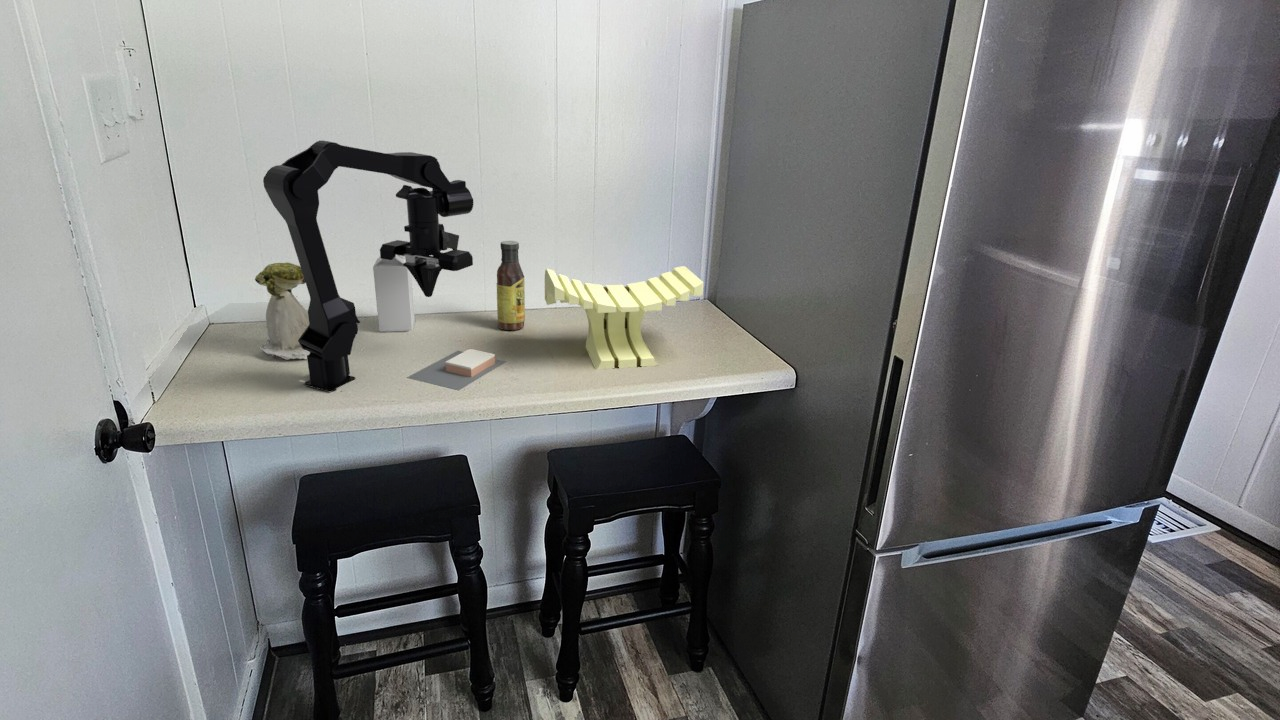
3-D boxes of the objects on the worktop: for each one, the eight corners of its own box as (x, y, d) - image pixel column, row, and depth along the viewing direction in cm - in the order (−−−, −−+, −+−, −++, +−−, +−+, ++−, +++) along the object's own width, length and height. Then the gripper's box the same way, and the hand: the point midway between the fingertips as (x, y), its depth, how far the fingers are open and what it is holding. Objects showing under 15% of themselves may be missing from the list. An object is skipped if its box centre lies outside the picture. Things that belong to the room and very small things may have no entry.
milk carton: (379, 332, 158) (370, 248, 151) (383, 322, 165) (375, 241, 157) (412, 331, 160) (405, 248, 152) (415, 321, 166) (409, 241, 159)
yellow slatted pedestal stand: (675, 337, 164) (680, 262, 157) (697, 364, 150) (703, 282, 143) (544, 343, 157) (544, 264, 150) (554, 372, 143) (554, 286, 136)
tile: (445, 371, 139) (471, 377, 137) (445, 361, 139) (471, 367, 137) (470, 357, 146) (495, 363, 144) (469, 348, 146) (494, 354, 143)
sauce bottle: (522, 332, 163) (521, 246, 155) (495, 331, 163) (492, 245, 155) (527, 322, 169) (526, 240, 161) (500, 321, 169) (498, 238, 161)
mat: (458, 392, 132) (458, 390, 132) (406, 379, 136) (406, 377, 136) (506, 363, 146) (506, 361, 145) (458, 352, 150) (457, 350, 150)
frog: (282, 367, 139) (268, 275, 132) (249, 350, 146) (234, 262, 139) (339, 350, 148) (328, 264, 141) (305, 335, 155) (293, 252, 148)
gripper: (487, 219, 143) (490, 293, 149) (412, 208, 149) (417, 280, 155) (453, 228, 133) (457, 308, 139) (374, 216, 140) (381, 293, 146)
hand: (428, 296), depth 145 cm, fingers closed
